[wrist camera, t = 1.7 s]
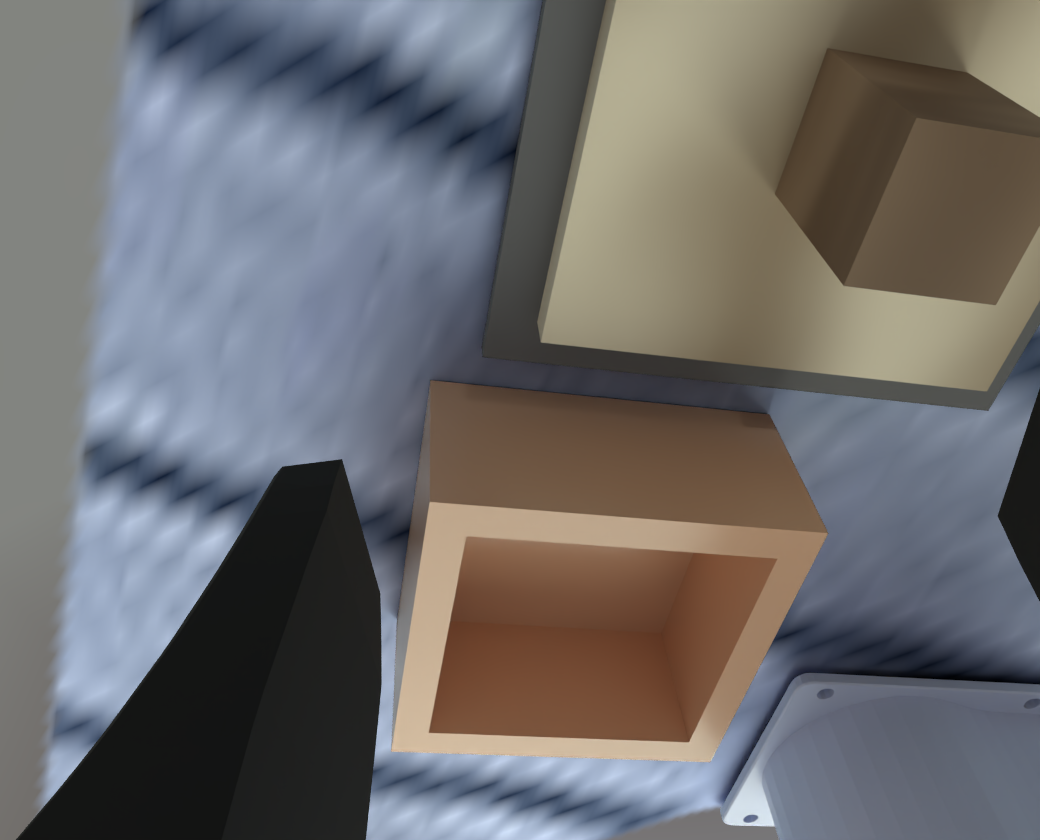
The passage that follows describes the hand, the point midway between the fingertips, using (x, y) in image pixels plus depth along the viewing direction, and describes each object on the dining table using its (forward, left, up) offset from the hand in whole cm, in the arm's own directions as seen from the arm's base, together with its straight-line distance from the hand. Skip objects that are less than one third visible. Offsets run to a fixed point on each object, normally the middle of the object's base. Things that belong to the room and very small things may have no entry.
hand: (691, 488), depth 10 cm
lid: (-5, -2, -9) cm, 10 cm away
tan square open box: (-2, +9, -10) cm, 14 cm away
